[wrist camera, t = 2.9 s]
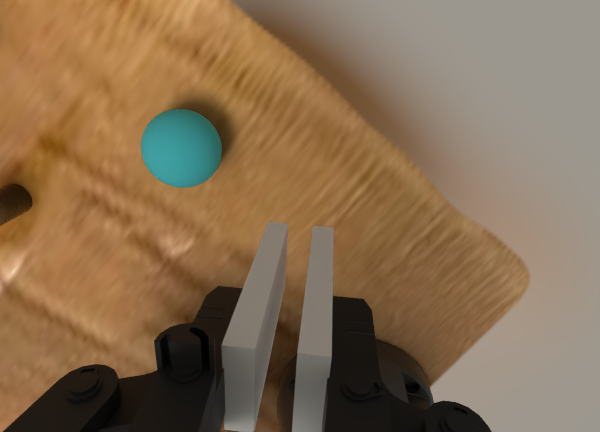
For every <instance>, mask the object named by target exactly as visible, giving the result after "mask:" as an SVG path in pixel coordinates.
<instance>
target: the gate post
mask: <svg viewBox="0 0 600 432" xmlns="http://www.w3.org/2000/svg"><path fill="white" fill-rule="evenodd" d="M31 206H32V199H31V196H30V195H29V193H28V192H27V191H26V190H25V189H24V188H23V187H21V186H19V185H16V184H9V185H7V186H4V187H2V188H0V226H1V225H3V224H5V223H7V222H8V221H10V220H12V219H14V218H16V217H17V216H19V215H21V214H23V213H25V212H27V211H28V210H29V209H30V208H31Z"/></svg>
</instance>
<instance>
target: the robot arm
mask: <svg viewBox="0 0 600 432" xmlns="http://www.w3.org/2000/svg"><path fill="white" fill-rule="evenodd" d="M333 236H334V228H333V227H322V226H313V232H312V240H311V248H310V256H309V264H308V272H307V280H306V288H305V296H304V304H303V312H302V320H301V328H300V336H299V344H298V352H297V356H296V357H295V358H294V359H293V360H292V361H291V362H290V363H289V364H288V366H287V367H286V369H285V370H284V372H283V374H282V377H281V380H280V385H279V391H278V397H277V416H278V421H279V426H280V430H281V432H491V430H490V428H489V427H488V425H487V424H486V423H485V422H484V421H483V419H482V418H481V417H480V416H479V415H478V414H477V413H475V412H474V411H472V410H471V409H470V408H468V407H466V406H464V405H461V404H459V403H456V402H450V401H441V402H437V403H434V401H433V397H432V393H431V390H430V386H429V382H428V380H427V377H426V375H425V373H424V372H423V370H422V369H421V367H420V366H419V365H418V364H417V363H416V362H415V360H413V359H412V358H411V357H410V356H409V355H407V354H406V353H404V352H403V351H401V350H399V349H398V348H396V347H394V346H391V345H389V344H386V343H383V342H380V341H376V339H375V335H374V334H375V332H374V325H373V317H372V310H371V309H370V307H369V306H368V305H367V303H366V302H365V300H364V299H358V298H348V297H337V296H333ZM287 238H288V224H287V223H276V222H268V223H267V226H266V229H265V231H264V234H263V237H262V239H261V242H260V245H259V247H258V250H257V253H256V255H255V258H254V260H253V263H252V266H251V268H250V271H249V274H248V276H247V279H246V282H245V284H244V287H243V288H233V287H222V286H218V287H217V288H215V289H214V290H213V291H212V292H210V293H209V294H208V295H207V296H206V298H205V300H204V302H203V304H202V306H201V309H200V310H199V312H198V314H197V315H196V318H195V319H194V321H193V323H187V324H179V325H176V326H173V327H170V328H168V329H167V330H165V331H163V332H162V333H160V334H159V336H158V337H157V338H156V339H155V340H154V344H155V352H156V360H157V368H158V369H157V371H154V372H152V373H149V374H145V375H140V376H134V377H127V378H121V379H118V376H117V374H116V372H115V370H114V369H112V368H110V367H108V366H107V365H98V364H94V365H88V366H83V367H80V368H78V369H76V370H73V371H71V372H69V373H68V374H66V375H65V376H64V377H62V378H61V379H59V380H58V381H57V382H56V383H55V384H54V385H53V386H52V387H51V388H50V389H49V390H48V391H46V392H45V393H44V394H43V395H42V396H41V397H40V398H39V399H38V400H37V401H36V402H35V403H33V404H32V405H31V406H30V407H29V408H28V409H27V410H26V411H25V412H24V413H23V414H22V415H20V416H19V417H18V418H17V419H16V420H15V421H14V422H13V423H12V424H11V425H10V426H8V427H7V428H6V429H5V430H4V431H3V432H220V428H221V425H222V422H223V418H224V430H231V431H239V432H254V431H255V427H256V422H257V417H258V412H259V408H260V403H261V398H262V393H263V389H264V384H265V379H266V374H267V369H268V365H269V360H270V355H271V350H272V346H273V341H274V336H275V331H276V327H277V322H278V317H279V312H280V308H281V303H282V298H283V293H284V288H285V280H286V259H287Z"/></svg>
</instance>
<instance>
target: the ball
mask: <svg viewBox="0 0 600 432" xmlns="http://www.w3.org/2000/svg"><path fill="white" fill-rule="evenodd" d="M141 152H142V157H143V160H144V162H145V164H146V166H147V168H148V169H149V171H150V172H151V173H152V174H153V175H154V176H155V177H156V178H157V179H159V180H160V181H162V182H163V183H165V184H168V185H171V186H174V187H182V188H185V187H193V186H196V185H199V184H201V183H203V182H205V181H206V180H207V179H209V178H210V177H211V176H212V175H213V174H214V172H215V171H216V170H217V168H218V166H219V164H220V161H221V156H222V144H221V139H220V137H219V134H218V132H217V130H216V129H215V127H214V126H213V124H212V123H211V122H210V121H209V120H208V119H206V118H205V117H204V116H202V115H201V114H199V113H197V112H194V111H191V110H186V109H173V110H168V111H165V112H163V113H161V114H159V115H158V116H156V117H155V118H154V119H153V120H151V122H150V123H149V124H148V125H147V127H146V129H145V131H144V133H143V136H142V140H141Z"/></svg>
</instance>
